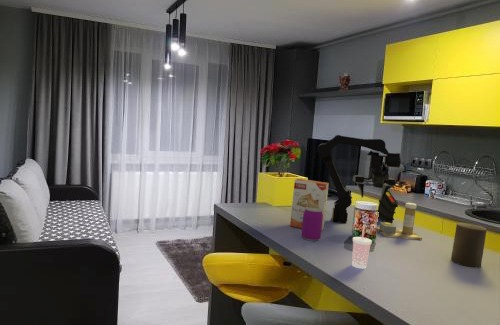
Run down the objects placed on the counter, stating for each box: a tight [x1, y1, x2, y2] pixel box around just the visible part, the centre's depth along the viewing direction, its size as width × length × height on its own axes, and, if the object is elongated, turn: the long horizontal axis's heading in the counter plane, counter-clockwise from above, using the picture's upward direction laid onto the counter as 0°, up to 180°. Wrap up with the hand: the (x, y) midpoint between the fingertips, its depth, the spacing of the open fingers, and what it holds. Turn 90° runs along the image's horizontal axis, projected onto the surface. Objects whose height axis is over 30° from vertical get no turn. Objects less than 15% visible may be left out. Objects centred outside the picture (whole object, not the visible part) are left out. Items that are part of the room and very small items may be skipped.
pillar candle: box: [450, 222, 488, 268], centre depth 144 cm, size 10×10×15 cm
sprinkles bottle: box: [402, 202, 418, 234], centre depth 176 cm, size 5×5×14 cm
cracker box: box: [289, 178, 330, 231], centre depth 173 cm, size 14×6×21 cm, turn 68°
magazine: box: [377, 190, 399, 224], centre depth 202 cm, size 4×13×15 cm, turn 11°
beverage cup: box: [351, 224, 373, 269], centre depth 130 cm, size 6×6×14 cm
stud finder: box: [379, 221, 397, 234], centre depth 177 cm, size 5×7×3 cm
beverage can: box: [301, 207, 323, 242], centre depth 158 cm, size 8×8×12 cm
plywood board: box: [376, 226, 423, 241], centre depth 177 cm, size 16×12×1 cm
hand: (372, 198), depth 188 cm, fingers open, 9 cm apart
